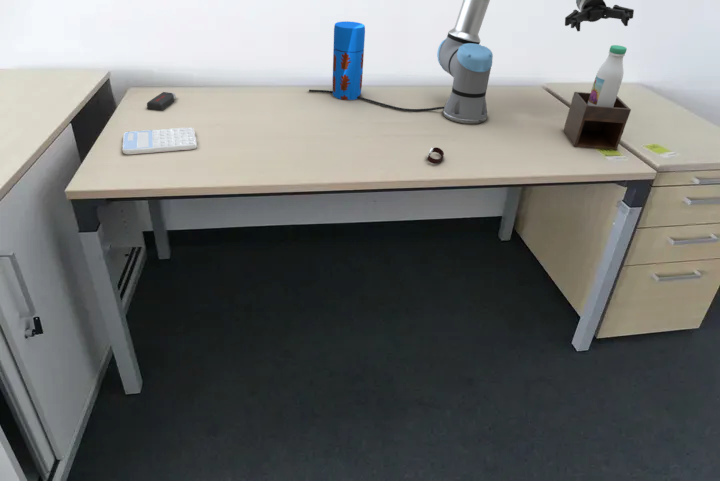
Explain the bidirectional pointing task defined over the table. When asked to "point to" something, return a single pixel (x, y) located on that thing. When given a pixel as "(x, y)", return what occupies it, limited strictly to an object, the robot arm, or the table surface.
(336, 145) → the table surface
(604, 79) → the milk bottle
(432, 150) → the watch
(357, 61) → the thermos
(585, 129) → the shelf unit
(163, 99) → the usb drive
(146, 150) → the calculator
